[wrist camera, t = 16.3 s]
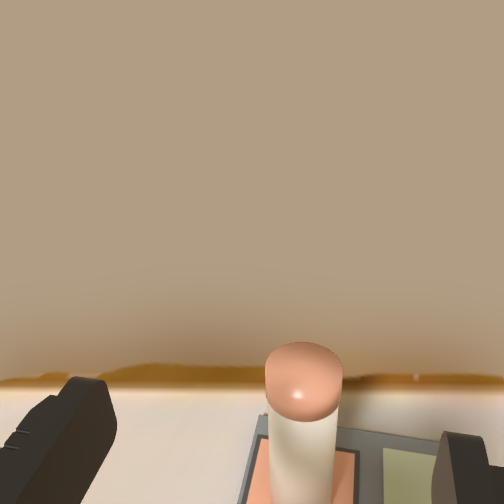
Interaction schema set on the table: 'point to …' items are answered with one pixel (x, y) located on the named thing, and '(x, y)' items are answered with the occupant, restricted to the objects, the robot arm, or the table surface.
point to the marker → (302, 422)
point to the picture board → (355, 468)
